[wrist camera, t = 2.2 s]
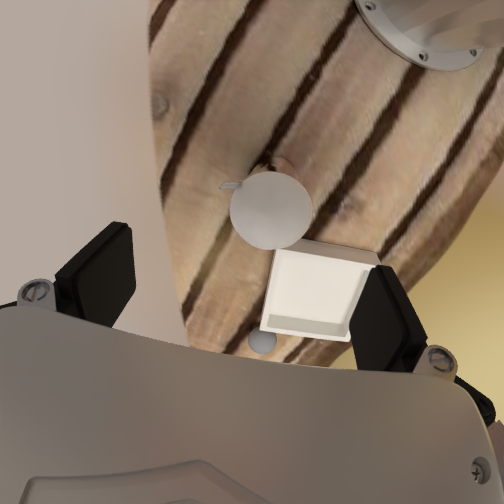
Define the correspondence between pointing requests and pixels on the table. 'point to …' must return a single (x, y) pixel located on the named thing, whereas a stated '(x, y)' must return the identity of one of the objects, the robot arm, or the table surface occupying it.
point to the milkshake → (270, 205)
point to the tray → (315, 289)
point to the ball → (262, 341)
